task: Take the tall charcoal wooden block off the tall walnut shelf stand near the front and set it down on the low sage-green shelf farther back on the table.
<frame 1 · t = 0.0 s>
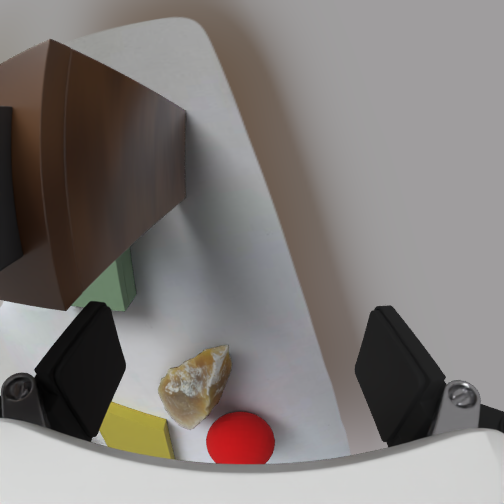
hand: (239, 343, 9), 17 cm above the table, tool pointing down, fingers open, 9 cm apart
tall shelf: (148, 156, 23), on the table
sign: (139, 440, 39), on the table
low shelf: (89, 249, 26), on the table
stone: (199, 367, 32), on the table
ornament: (240, 416, 36), on the table
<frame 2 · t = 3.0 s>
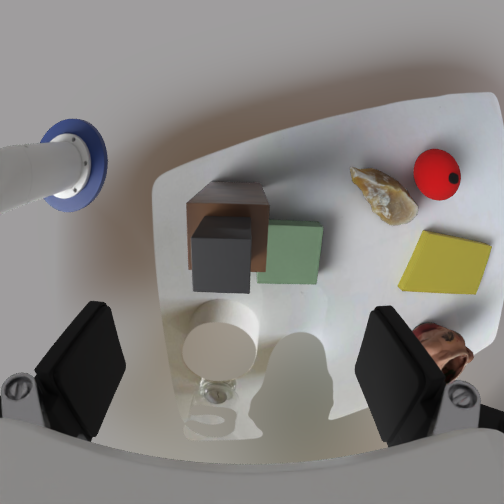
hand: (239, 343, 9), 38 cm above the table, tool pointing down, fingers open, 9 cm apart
tall shelf: (235, 203, 46), on the table
sign: (446, 262, 51), on the table
low shelf: (287, 248, 49), on the table
stone: (375, 191, 46), on the table
face mug: (426, 335, 57), on the table
block: (227, 238, 28), point 19 cm above the table, touching tall shelf
ornament: (423, 171, 44), on the table
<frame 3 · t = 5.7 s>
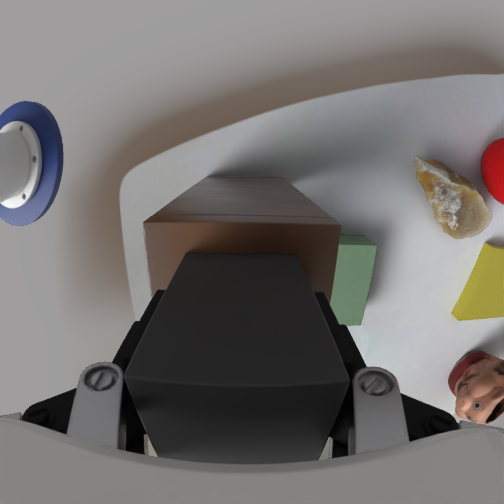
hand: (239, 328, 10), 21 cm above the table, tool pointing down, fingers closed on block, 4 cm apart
tall shelf: (244, 209, 30), on the table
sign: (502, 280, 35), on the table
low shelf: (320, 275, 33), on the table
stone: (437, 192, 30), on the table
face mug: (470, 364, 41), on the table
block: (240, 301, 12), point 19 cm above the table, touching gripper, tall shelf
ornament: (487, 167, 28), on the table
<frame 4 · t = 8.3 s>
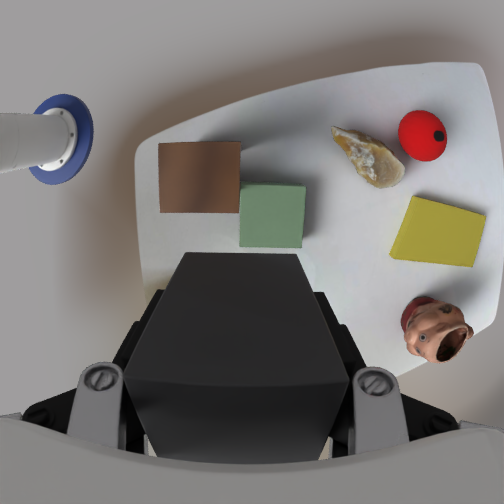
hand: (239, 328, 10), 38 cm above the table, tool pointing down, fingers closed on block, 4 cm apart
tall shelf: (216, 166, 44), on the table
sign: (439, 232, 49), on the table
low shelf: (270, 212, 47), on the table
stone: (359, 154, 44), on the table
face mug: (422, 311, 56), on the table
block: (240, 301, 12), point 36 cm above the table, touching gripper
ornament: (408, 135, 43), on the table
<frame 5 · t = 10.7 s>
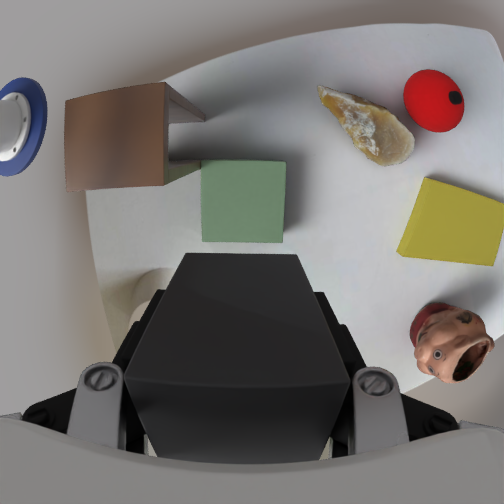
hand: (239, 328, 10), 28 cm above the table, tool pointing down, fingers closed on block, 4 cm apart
tall shelf: (174, 141, 34), on the table
sign: (456, 223, 39), on the table
low shelf: (243, 197, 37), on the table
stone: (356, 123, 34), on the table
face mug: (435, 319, 45), on the table
block: (240, 302, 12), point 26 cm above the table, touching gripper
ornament: (416, 103, 32), on the table
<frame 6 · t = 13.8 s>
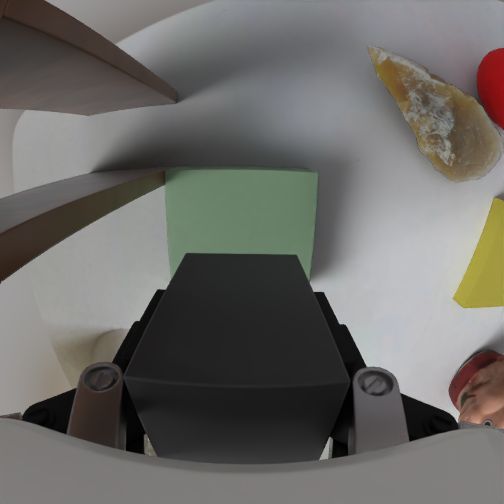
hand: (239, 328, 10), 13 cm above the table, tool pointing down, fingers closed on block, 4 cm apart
tall shelf: (128, 138, 20), on the table
low shelf: (241, 229, 22), on the table
stone: (418, 114, 19), on the table
face mug: (477, 367, 31), on the table
block: (240, 302, 12), point 11 cm above the table, touching gripper
ornament: (486, 94, 18), on the table
when the fingers open (5 cm above the table, at t = 16.0 s): block stays where it is, resting on low shelf.
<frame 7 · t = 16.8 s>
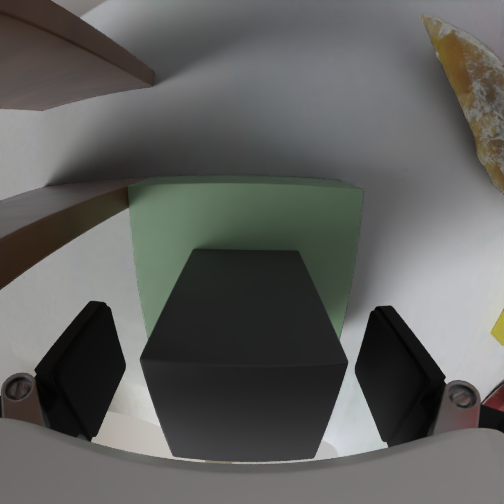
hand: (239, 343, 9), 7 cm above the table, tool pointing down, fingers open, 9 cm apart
tall shelf: (89, 139, 13), on the table
low shelf: (244, 265, 16), on the table
stone: (472, 112, 13), on the table
face mug: (499, 396, 24), on the table
block: (244, 296, 13), point 3 cm above the table, touching low shelf
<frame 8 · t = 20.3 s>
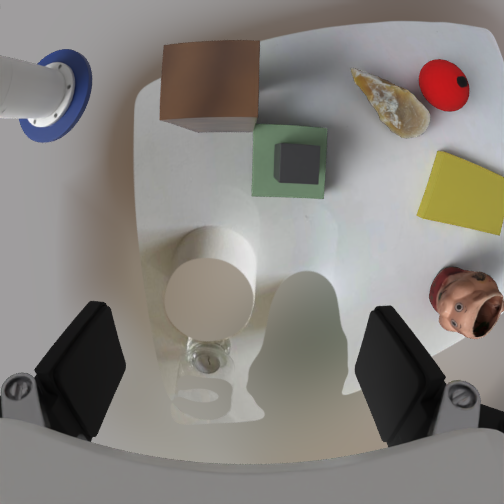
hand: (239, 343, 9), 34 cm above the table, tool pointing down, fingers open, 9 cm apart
tall shelf: (225, 109, 37), on the table
sign: (466, 194, 42), on the table
low shelf: (286, 160, 40), on the table
stone: (380, 102, 37), on the table
face mug: (450, 284, 48), on the table
block: (290, 161, 37), point 3 cm above the table, touching low shelf
ornament: (428, 88, 35), on the table
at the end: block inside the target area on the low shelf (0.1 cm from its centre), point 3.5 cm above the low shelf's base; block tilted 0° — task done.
